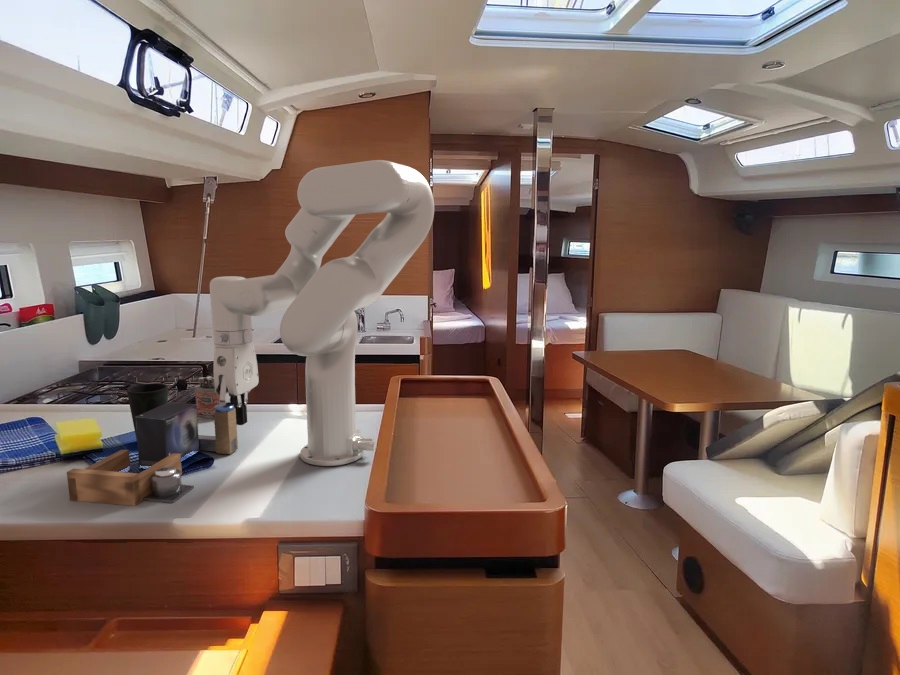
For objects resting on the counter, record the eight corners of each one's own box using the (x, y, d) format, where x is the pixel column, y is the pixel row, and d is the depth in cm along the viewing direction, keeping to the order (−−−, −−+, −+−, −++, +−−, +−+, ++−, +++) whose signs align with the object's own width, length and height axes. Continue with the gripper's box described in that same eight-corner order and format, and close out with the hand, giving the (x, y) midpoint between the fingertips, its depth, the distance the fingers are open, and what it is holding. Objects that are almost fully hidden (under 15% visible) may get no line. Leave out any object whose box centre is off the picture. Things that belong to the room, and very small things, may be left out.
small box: (168, 473, 112) (164, 418, 110) (137, 470, 113) (132, 416, 111) (201, 452, 122) (198, 402, 120) (172, 450, 123) (168, 400, 121)
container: (240, 448, 123) (237, 403, 122) (231, 454, 120) (228, 408, 118) (176, 444, 126) (172, 400, 124) (165, 450, 122) (161, 405, 120)
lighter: (193, 418, 144) (190, 377, 142) (202, 413, 147) (199, 374, 145) (221, 421, 141) (218, 380, 140) (230, 417, 145) (228, 376, 143)
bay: (182, 474, 111) (180, 448, 110) (134, 505, 98) (132, 477, 97) (123, 469, 113) (121, 444, 112) (69, 500, 100) (66, 471, 99)
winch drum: (193, 487, 105) (192, 465, 105) (172, 503, 99) (170, 479, 99) (162, 485, 106) (160, 462, 105) (140, 500, 100) (137, 476, 100)
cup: (142, 452, 122) (137, 394, 120) (125, 443, 126) (119, 388, 124) (179, 441, 128) (174, 387, 126) (160, 434, 132) (156, 381, 130)
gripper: (230, 345, 115) (236, 436, 118) (267, 331, 129) (271, 414, 132) (194, 343, 116) (201, 434, 119) (235, 330, 130) (240, 412, 134)
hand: (238, 423), depth 126 cm, fingers closed
